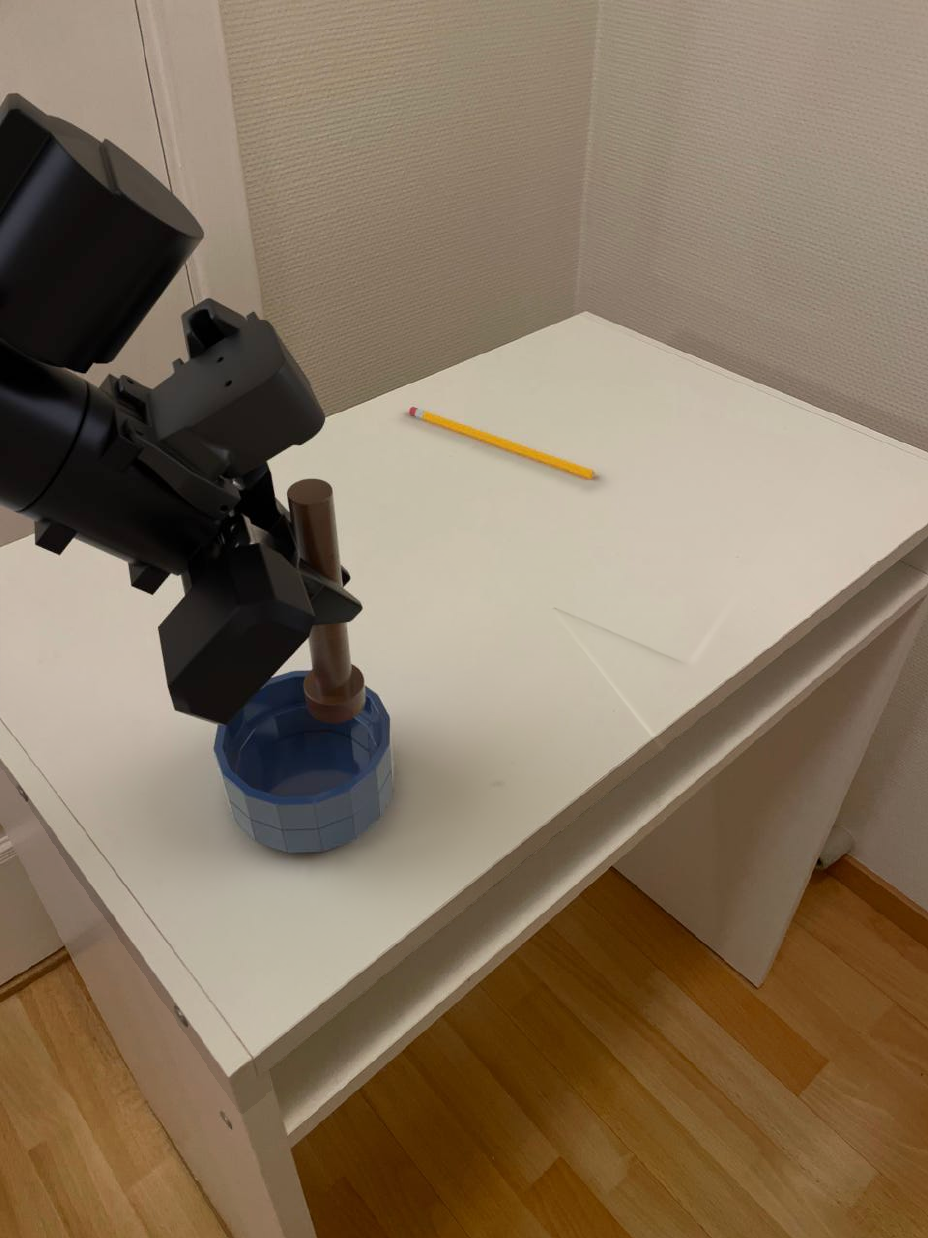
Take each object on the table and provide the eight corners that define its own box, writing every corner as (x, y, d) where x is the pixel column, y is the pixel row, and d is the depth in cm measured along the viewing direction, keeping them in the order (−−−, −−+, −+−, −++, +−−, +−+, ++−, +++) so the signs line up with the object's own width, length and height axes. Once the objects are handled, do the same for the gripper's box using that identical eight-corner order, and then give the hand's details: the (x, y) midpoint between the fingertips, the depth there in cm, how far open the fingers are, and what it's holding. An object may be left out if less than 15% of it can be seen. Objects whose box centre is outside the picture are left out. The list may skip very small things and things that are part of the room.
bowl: (256, 884, 50) (241, 830, 46) (211, 757, 56) (196, 700, 53) (419, 822, 53) (416, 766, 49) (360, 707, 59) (354, 651, 56)
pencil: (413, 412, 85) (413, 405, 84) (594, 476, 78) (595, 469, 77) (408, 416, 84) (408, 409, 84) (589, 481, 77) (590, 474, 77)
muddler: (295, 713, 50) (259, 502, 41) (323, 673, 52) (295, 464, 43) (349, 730, 49) (325, 519, 40) (375, 688, 51) (358, 479, 42)
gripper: (208, 408, 27) (538, 608, 37) (144, 191, 40) (403, 384, 50) (5, 663, 30) (359, 782, 41) (6, 388, 43) (275, 531, 54)
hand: (350, 597), depth 46 cm, fingers closed on muddler, 2 cm apart
